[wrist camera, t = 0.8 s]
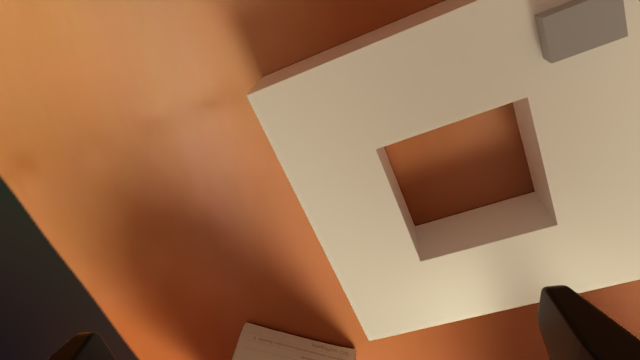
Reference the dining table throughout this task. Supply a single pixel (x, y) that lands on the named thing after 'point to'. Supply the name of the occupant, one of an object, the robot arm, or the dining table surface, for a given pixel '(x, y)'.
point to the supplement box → (284, 346)
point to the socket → (451, 106)
